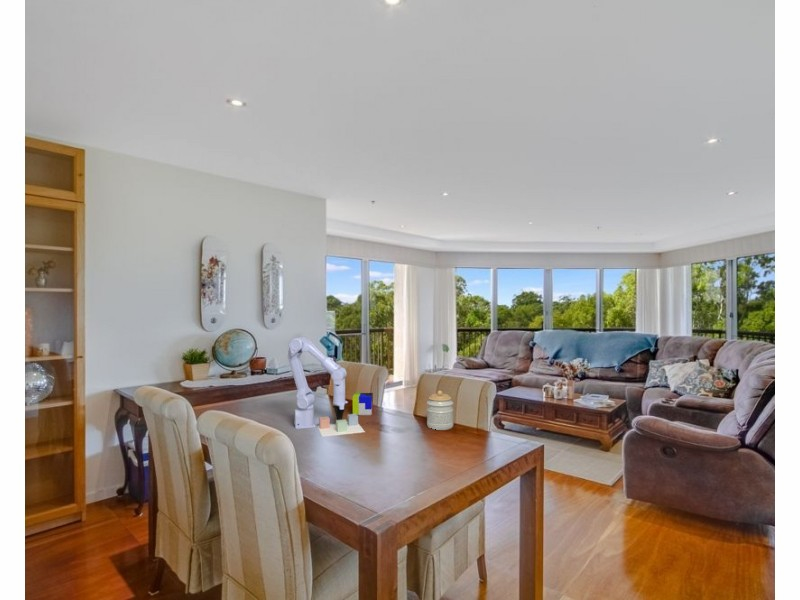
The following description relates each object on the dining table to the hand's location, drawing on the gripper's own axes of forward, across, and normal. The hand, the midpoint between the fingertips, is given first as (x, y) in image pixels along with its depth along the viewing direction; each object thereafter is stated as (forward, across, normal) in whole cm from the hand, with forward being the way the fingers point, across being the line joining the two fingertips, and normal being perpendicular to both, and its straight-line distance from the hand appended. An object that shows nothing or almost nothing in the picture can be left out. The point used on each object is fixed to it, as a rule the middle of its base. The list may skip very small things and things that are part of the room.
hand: (339, 420), depth 208 cm
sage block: (+3, -6, 0) cm, 6 cm away
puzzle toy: (+4, +22, -17) cm, 28 cm away
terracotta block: (+3, +2, +7) cm, 8 cm away
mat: (+3, -3, 0) cm, 4 cm away
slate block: (+3, +2, -7) cm, 8 cm away
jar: (+3, -15, -47) cm, 49 cm away
